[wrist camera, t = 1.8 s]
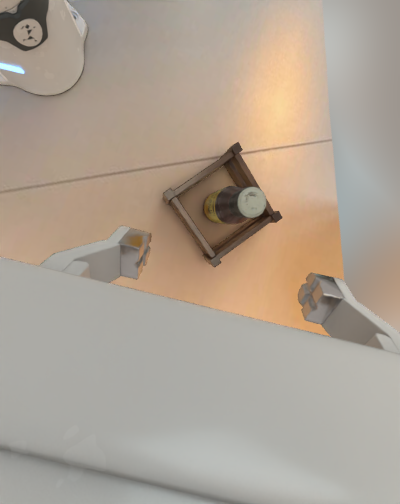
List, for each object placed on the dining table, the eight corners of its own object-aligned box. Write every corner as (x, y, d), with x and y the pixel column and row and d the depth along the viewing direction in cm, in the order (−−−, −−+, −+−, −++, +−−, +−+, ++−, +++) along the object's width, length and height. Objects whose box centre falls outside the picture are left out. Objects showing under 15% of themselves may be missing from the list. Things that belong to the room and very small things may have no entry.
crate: (162, 198, 46) (163, 193, 39) (226, 154, 48) (238, 141, 40) (206, 261, 50) (214, 267, 42) (265, 218, 51) (282, 217, 44)
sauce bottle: (211, 187, 48) (248, 162, 28) (235, 203, 49) (285, 190, 30) (195, 214, 48) (220, 207, 29) (220, 229, 49) (259, 233, 30)
